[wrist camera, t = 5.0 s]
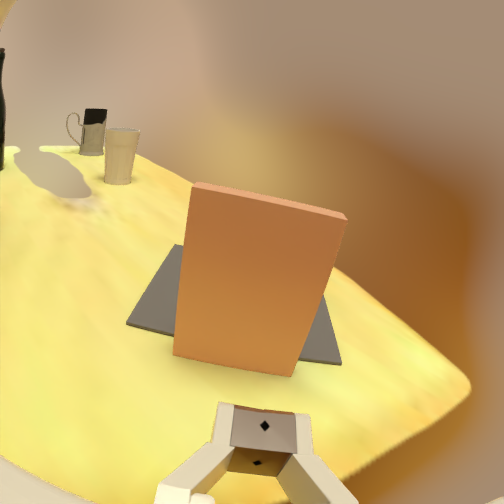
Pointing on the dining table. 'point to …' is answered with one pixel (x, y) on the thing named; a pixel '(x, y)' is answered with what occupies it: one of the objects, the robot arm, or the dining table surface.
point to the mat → (165, 305)
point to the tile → (252, 277)
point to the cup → (120, 154)
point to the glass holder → (92, 132)
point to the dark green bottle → (2, 111)
